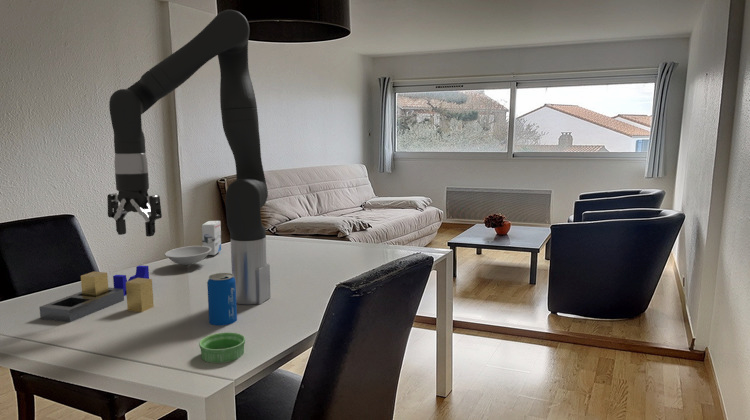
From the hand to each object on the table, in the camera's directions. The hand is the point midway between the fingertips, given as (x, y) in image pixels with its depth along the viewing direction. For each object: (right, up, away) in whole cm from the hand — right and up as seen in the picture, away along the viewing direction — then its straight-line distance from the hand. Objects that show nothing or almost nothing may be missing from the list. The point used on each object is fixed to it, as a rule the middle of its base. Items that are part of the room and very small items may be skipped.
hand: (135, 235), depth 134 cm
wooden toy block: (0, -20, +3) cm, 20 cm away
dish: (-4, -13, +49) cm, 51 cm away
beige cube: (-13, -19, +7) cm, 24 cm away
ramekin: (+30, -25, -27) cm, 47 cm away
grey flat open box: (-15, -20, +3) cm, 25 cm away
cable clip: (-11, -17, +21) cm, 29 cm away
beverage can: (+24, -21, -7) cm, 33 cm away
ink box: (-1, -10, +68) cm, 69 cm away
